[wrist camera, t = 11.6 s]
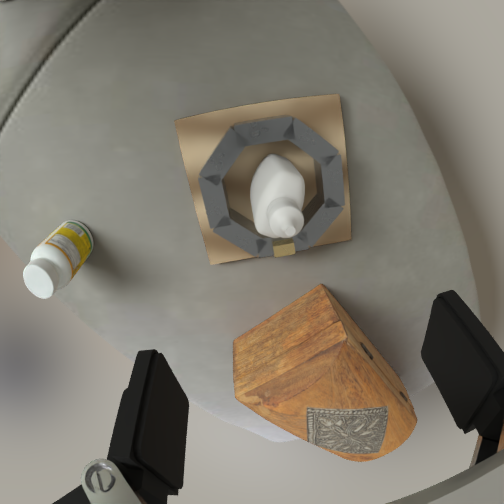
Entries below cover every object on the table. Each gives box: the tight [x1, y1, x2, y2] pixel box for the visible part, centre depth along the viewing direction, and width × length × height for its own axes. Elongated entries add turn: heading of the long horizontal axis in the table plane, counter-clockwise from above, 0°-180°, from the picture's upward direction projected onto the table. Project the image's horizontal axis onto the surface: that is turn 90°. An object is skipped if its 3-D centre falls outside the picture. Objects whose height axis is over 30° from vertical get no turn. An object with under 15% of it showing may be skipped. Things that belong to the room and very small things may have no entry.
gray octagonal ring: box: [198, 115, 345, 258], centre depth 29 cm, size 13×13×4 cm
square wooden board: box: [174, 94, 351, 265], centre depth 31 cm, size 16×16×1 cm
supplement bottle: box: [23, 220, 93, 299], centre depth 29 cm, size 5×5×10 cm
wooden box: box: [233, 284, 417, 462], centre depth 40 cm, size 30×16×14 cm, turn 38°
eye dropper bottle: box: [250, 153, 305, 238], centre depth 25 cm, size 4×6×12 cm
